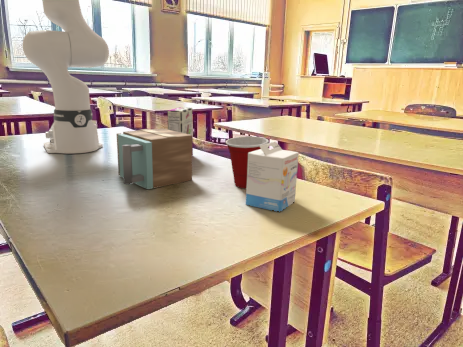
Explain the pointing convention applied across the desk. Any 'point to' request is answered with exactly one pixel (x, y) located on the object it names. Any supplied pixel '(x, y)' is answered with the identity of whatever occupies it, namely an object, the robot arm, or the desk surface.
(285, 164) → the ink box
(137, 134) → the carton
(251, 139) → the plastic cup
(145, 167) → the flap
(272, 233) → the desk surface
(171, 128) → the candy bar box
